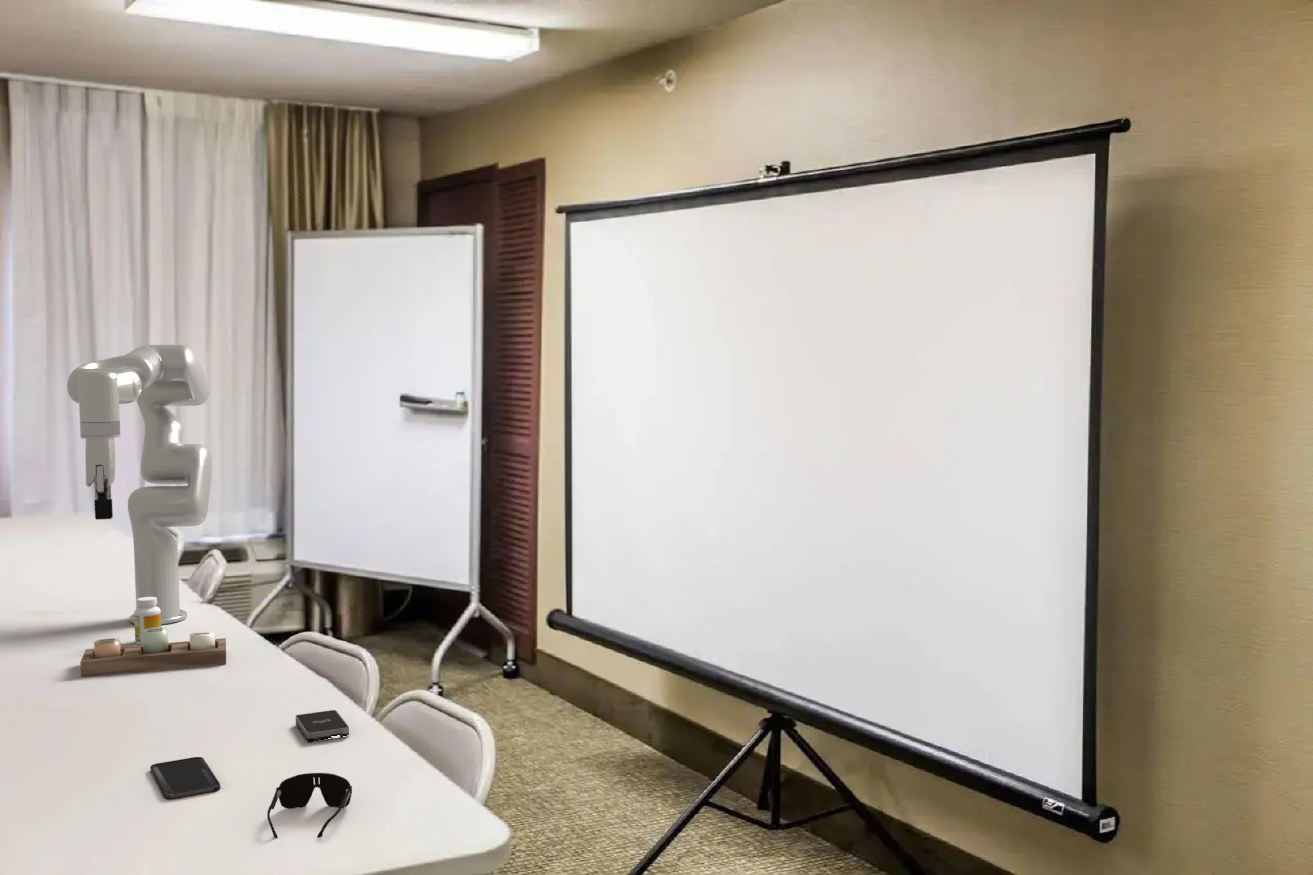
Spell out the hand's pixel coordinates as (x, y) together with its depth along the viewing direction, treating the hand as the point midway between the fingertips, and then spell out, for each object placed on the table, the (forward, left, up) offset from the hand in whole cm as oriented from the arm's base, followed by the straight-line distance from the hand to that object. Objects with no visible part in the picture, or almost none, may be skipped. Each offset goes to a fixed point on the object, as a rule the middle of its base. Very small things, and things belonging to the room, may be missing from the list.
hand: (104, 518), depth 255 cm
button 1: (+10, +19, -28) cm, 35 cm away
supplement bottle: (-10, +7, -29) cm, 32 cm away
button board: (+10, +10, -29) cm, 32 cm away
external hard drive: (+65, +38, -30) cm, 81 cm away
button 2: (+10, +10, -26) cm, 30 cm away
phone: (+82, +17, -30) cm, 89 cm away
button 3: (+10, +1, -28) cm, 29 cm away
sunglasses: (+105, +34, -30) cm, 114 cm away
